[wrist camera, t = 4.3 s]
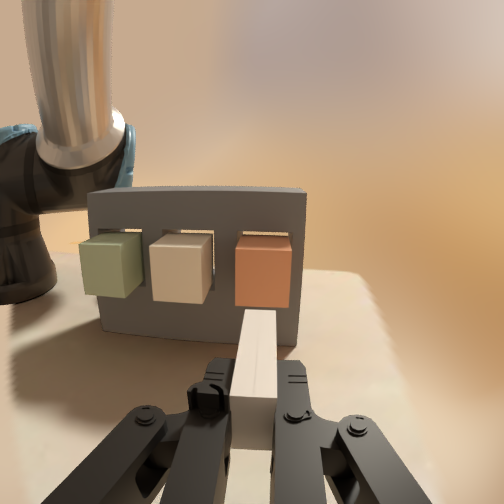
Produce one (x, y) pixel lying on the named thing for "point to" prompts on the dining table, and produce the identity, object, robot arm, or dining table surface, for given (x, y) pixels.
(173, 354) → the dining table surface
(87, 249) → the sage button
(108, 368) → the dining table surface
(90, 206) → the console
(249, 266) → the terracotta button
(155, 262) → the ivory button
